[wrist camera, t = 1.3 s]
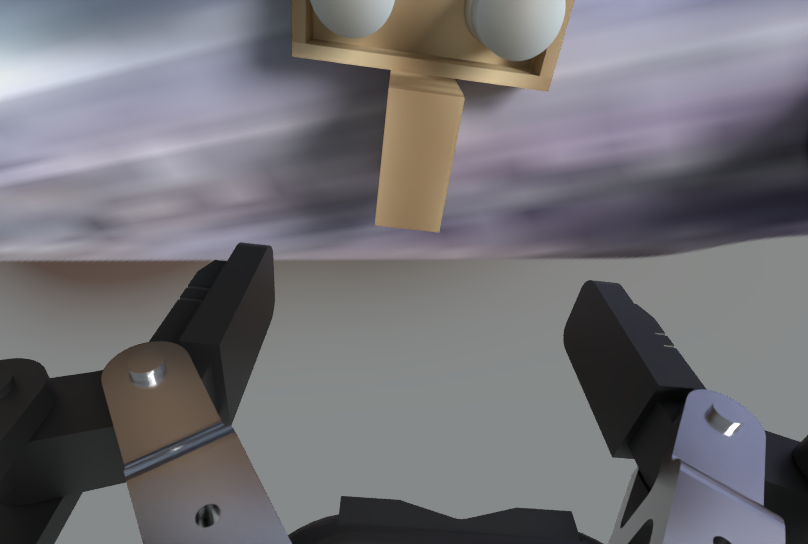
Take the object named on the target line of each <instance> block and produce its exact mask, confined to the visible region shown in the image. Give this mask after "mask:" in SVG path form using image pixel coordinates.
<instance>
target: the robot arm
mask: <svg viewBox="0 0 808 544" xmlns="http://www.w3.org/2000/svg"><path fill="white" fill-rule="evenodd" d="M274 303H275V290H274V266H273V250H272V247H271V246H269V245H259V244H250V243H239V244H238V245H237V246H236V248H235V249H234V251H233V253H232V254H231V256H230V258H229V259H228V261H218V260H214V261H213V262H212V263H210V264H208V265H207V266H205V267H204V268H202V269H201V270H199V271H198V272H197V273H196V275H195V276H194V278H193V279H192V280H191V282H190V284H189V285H188V288H186V289H185V290H184V292H183V293H182V295H181V296H180V300H178V301H177V302H176V303H175V305H174V306H173V308H172V309H171V311H170V312H169V314H168V315H167V317H166V318H165V320H164V321H163V322H162V324H161V325H160V327H159V328H158V329H157V331H156V333H155V334H154V335H153V337H152V338H151V340H150V341H149V342H146V343H142V344H138V345H135V346H133V347H130V348H128V349H126V350H124V351H122V352H121V353H119V354H118V355H117V356H115V357H114V358H113V359H112V360H111V361H110V362H109V363H108V364H107V365H106V367H105V368H104V370H101V371H96V372H90V373H83V374H76V375H69V376H62V377H55V378H49V376H48V374H47V372H46V370H45V368H44V366H42V365H41V364H40V363H38V362H36V361H34V360H30V359H22V358H19V359H18V358H15V359H6V360H0V544H54V543H55V541H56V540H57V538H58V536H59V534H60V532H61V530H62V528H63V527H64V525H65V523H66V521H67V519H68V517H69V516H70V514H71V512H72V510H73V509H74V507H75V505H76V503H77V501H78V500H79V498H80V496H81V494H82V492H85V491H89V490H94V489H98V488H103V487H107V486H112V485H116V484H120V483H125V482H127V486H128V489H129V493H130V497H131V501H132V504H133V508H134V512H135V515H136V519H137V523H138V526H139V530H140V534H141V538H142V541H143V544H603V543H601V542H599V541H598V540H596V539H593V538H591V537H589V536H587V535H585V534H583V533H580V532H578V531H577V527H576V524H575V521H574V518H573V515H572V512H571V511H558V510H543V509H528V508H513V509H509V510H505V511H500V512H496V513H491V514H486V515H481V516H477V517H472V518H468V519H456V518H452V517H449V516H446V515H443V514H440V513H437V512H434V511H431V510H428V509H425V508H422V507H419V506H416V505H413V504H410V503H407V502H404V501H401V500H393V499H392V500H391V499H377V498H362V497H347V496H341V502H340V511H339V514H338V515H334V516H329V517H326V518H322V519H320V520H317V521H314V522H311V523H309V524H308V525H305V526H303V527H301V528H299V529H297V530H296V531H294V532H293V533H291V534H289V535H287V533H286V531H285V529H284V527H283V525H282V523H281V521H280V519H279V517H278V515H277V513H276V511H275V509H274V507H273V505H272V503H271V501H270V499H269V497H268V496H267V493H266V491H265V489H264V487H263V485H262V483H261V481H260V479H259V478H258V476H257V474H256V472H255V470H254V468H253V466H252V464H251V462H250V460H249V458H248V456H247V454H246V452H245V450H244V448H243V446H242V444H241V442H240V440H239V438H238V436H237V434H236V432H235V431H234V429H233V428H232V426H231V425H232V422H233V420H234V417H235V414H236V412H237V409H238V406H239V404H240V401H241V399H242V396H243V393H244V391H245V388H246V385H247V383H248V380H249V378H250V375H251V372H252V370H253V367H254V364H255V362H256V359H257V357H258V354H259V351H260V349H261V346H262V343H263V341H264V338H265V336H266V333H267V330H268V328H269V325H270V322H271V319H272V316H273V311H274ZM564 346H565V349H566V352H567V354H568V356H569V359H570V361H571V363H572V366H573V368H574V370H575V372H576V375H577V377H578V380H579V382H580V384H581V386H582V389H583V391H584V393H585V396H586V398H587V400H588V402H589V405H590V407H591V409H592V412H593V414H594V416H595V419H596V421H597V423H598V425H599V428H600V430H601V432H602V435H603V437H604V439H605V441H606V444H607V446H608V448H609V451H610V453H611V455H612V457H615V458H616V457H617V458H628V459H635V461H636V463H637V465H638V466H637V468H636V469H635V470H634V472H633V473H632V475H631V479H630V481H629V484H628V487H627V490H626V493H625V496H624V499H623V502H622V505H621V508H620V511H619V514H618V517H617V519H616V522H615V526H614V529H613V531H612V534H611V537H610V540H609V542H608V544H808V435H807V437H805V438H804V439H803V441H802V442H799V441H796V440H792V439H789V438H786V437H783V436H780V435H777V434H774V433H771V432H768V431H765V430H764V428H763V427H762V425H761V423H760V422H759V420H758V419H757V418H756V417H755V416H754V415H753V414H752V413H751V412H750V411H749V410H748V409H747V408H745V407H744V406H743V405H741V404H740V403H738V402H737V401H735V400H734V399H732V398H730V397H728V396H726V395H723V394H721V393H718V392H715V391H711V390H707V389H706V388H705V387H704V385H703V384H702V383H701V381H700V380H699V379H698V377H697V376H696V375H695V373H694V372H693V371H692V369H691V368H690V366H689V365H688V364H687V362H686V361H685V360H684V358H683V357H682V355H681V354H680V353H679V351H678V350H677V349H676V348H674V345H673V343H672V342H671V340H670V339H669V338H668V336H665V333H664V331H663V330H662V328H661V327H660V326H659V324H658V323H657V321H656V320H655V319H654V318H653V317H652V316H651V315H650V314H648V313H647V312H646V311H645V310H643V309H642V308H641V307H639V306H638V305H637V304H634V303H633V302H632V300H631V299H630V297H629V296H628V295H627V293H626V292H625V290H624V289H623V287H622V286H621V285H620V284H618V283H610V282H601V281H592V280H589V281H587V282H585V283H584V285H583V286H582V288H581V290H580V293H579V295H578V297H577V300H576V302H575V304H574V307H573V309H572V311H571V314H570V316H569V318H568V321H567V323H566V326H565V329H564Z"/></svg>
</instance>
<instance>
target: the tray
mask: <svg viewBox="0 0 808 544" xmlns="http://www.w3.org/2000/svg"><path fill="white" fill-rule="evenodd" d="M573 4H574V0H292V57H299V58H307V59H314V60H321V61H329V62H336V63H343V64H351V65H358V66H365V67H373V68H380V69H387V70H391V72H390V81H389V89H388V99H387V109H386V119H385V129H384V139H383V148H382V158H381V168H380V178H379V188H378V198H377V208H376V218H375V225H376V226H385V227H394V228H403V229H412V230H421V231H430V232H439V230H440V225H441V220H442V215H443V210H444V204H445V199H446V194H447V189H448V184H449V178H450V173H451V168H452V163H453V158H454V152H455V147H456V142H457V137H458V132H459V126H460V121H461V116H462V111H463V106H464V100H465V97H464V95H463V93H462V91H461V89H460V88H459V86H458V84H457V82H456V80H455V79H461V80H468V81H475V82H483V83H490V84H497V85H505V86H512V87H519V88H527V89H534V90H541V91H549V87H550V84H551V80H552V77H553V73H554V70H555V66H556V63H557V59H558V56H559V52H560V49H561V45H562V42H563V38H564V35H565V31H566V28H567V25H568V21H569V18H570V14H571V11H572V7H573Z"/></svg>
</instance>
